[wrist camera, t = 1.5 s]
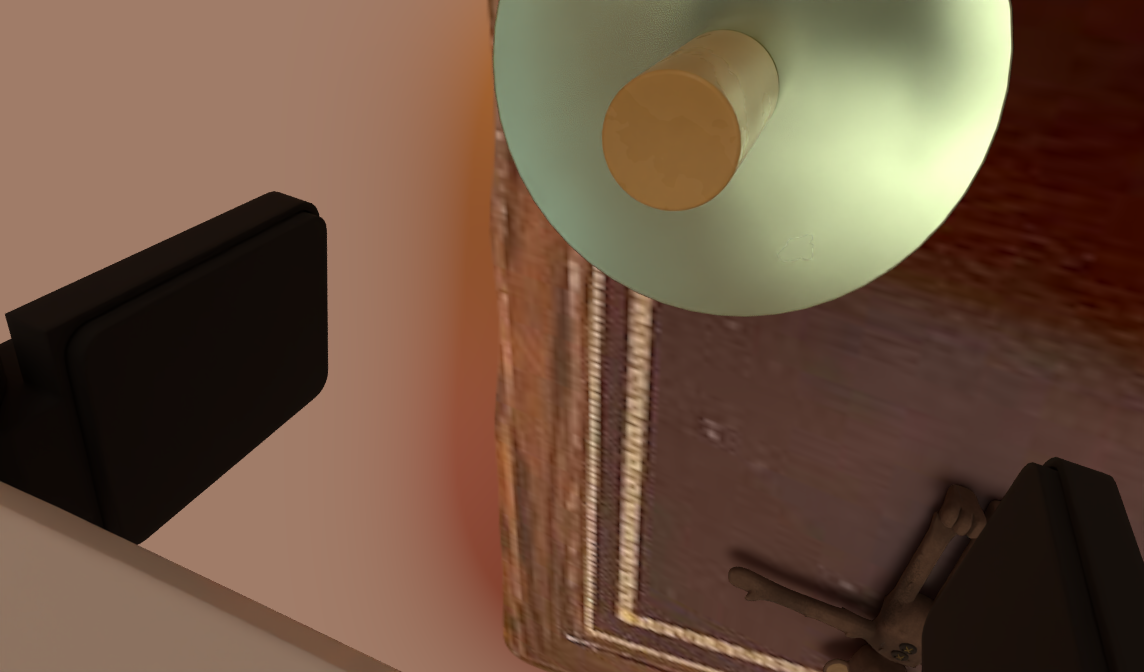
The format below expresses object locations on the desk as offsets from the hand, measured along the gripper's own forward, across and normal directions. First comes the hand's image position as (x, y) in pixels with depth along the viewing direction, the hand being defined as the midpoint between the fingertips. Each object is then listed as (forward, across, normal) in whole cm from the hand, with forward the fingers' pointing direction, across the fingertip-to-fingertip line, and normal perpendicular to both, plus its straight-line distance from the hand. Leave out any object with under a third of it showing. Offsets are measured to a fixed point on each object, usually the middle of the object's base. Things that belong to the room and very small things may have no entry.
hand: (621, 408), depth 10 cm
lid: (+14, +2, -1) cm, 14 cm away
